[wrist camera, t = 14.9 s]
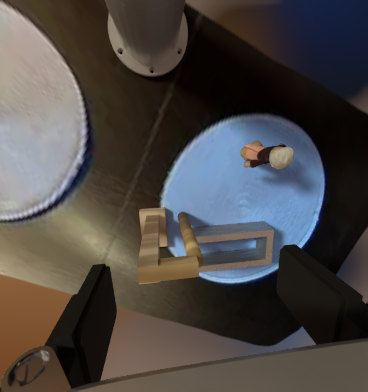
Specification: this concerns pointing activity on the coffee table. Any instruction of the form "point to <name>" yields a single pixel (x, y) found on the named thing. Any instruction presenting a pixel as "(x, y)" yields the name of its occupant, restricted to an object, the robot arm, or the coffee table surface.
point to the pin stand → (157, 237)
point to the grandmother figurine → (267, 155)
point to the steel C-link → (236, 257)
